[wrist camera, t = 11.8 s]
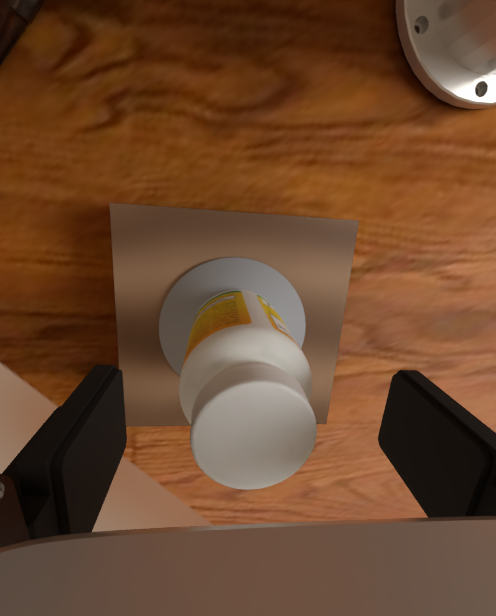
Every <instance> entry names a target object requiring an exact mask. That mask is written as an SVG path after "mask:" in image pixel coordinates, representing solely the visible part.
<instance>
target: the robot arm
mask: <svg viewBox="0 0 496 616" xmlns="http://www.w3.org/2000/svg"><path fill="white" fill-rule="evenodd" d="M396 18H397V26H398V33H399V37H400V41H401V44H402V47H403V51H404V54H405V57H406V59H407V61H408V62H409V64H410V66H411V68H412V70H413V72H414V74H415V75H416V77H417V78H418V79H419V80H420V82H421V83H422V84H423V85H424V87H425V88H426V89H427V90H429V91H430V92H431V93H432V94H434V95H435V96H436V97H437V98H439V99H440V100H442V101H445V102H447V103H449V104H451V105H453V106H456V107H462V108H467V109H484V108H490V107H494V106H496V0H396ZM126 441H127V435H126V419H125V404H124V388H123V373H122V370H118V369H117V368H116V366H115V365H95V366H94V367H93V369H92V370H91V371H90V372H89V373H88V375H87V376H86V377H85V378H84V380H83V381H82V382H81V383H80V384H79V386H78V387H77V388H76V389H75V390H74V392H73V393H72V394H71V395H70V397H69V398H68V399H67V400H66V401H65V403H64V404H63V405H62V406H60V407H58V408H57V409H56V410H55V411H54V412H53V413H52V414H51V416H50V417H49V418H48V419H47V421H46V422H45V423H44V424H43V425H42V427H41V428H40V429H39V430H38V431H37V432H36V434H35V435H34V436H33V437H32V438H31V440H30V441H29V442H28V443H27V444H26V446H25V447H24V448H23V449H22V450H21V451H20V453H19V454H18V455H17V456H16V457H15V459H14V460H13V461H12V462H11V463H10V465H9V466H8V467H7V468H6V469H5V470H4V472H3V473H2V474H0V616H496V433H495V432H494V431H492V430H491V429H490V428H489V427H487V426H486V425H485V424H484V423H482V422H481V421H480V420H479V419H477V418H476V417H475V416H474V415H472V414H471V413H470V412H469V411H467V410H466V409H465V408H464V407H462V406H461V405H460V404H459V403H457V402H456V401H455V400H454V399H452V398H451V397H450V396H449V395H447V394H446V393H445V392H444V391H442V390H441V389H440V388H439V387H437V386H436V385H435V384H434V383H432V382H431V381H430V380H429V379H427V378H426V377H425V376H424V375H422V374H421V373H420V372H418V371H416V370H400V371H398V372H397V374H395V375H394V376H393V377H392V381H391V385H390V389H389V393H388V398H387V402H386V406H385V410H384V414H383V419H382V423H381V427H380V431H379V435H378V441H379V445H380V447H381V449H382V450H383V452H384V453H385V455H386V456H387V458H388V459H389V460H390V462H391V463H392V465H393V466H394V468H395V469H396V471H397V472H398V474H399V475H400V477H401V478H402V480H403V481H404V482H405V484H406V485H407V487H408V488H409V490H410V491H411V493H412V494H413V496H414V497H415V499H416V500H417V501H418V503H419V504H420V506H421V507H422V509H423V510H424V512H425V513H426V515H427V516H428V518H398V519H368V520H340V521H313V522H286V523H261V524H237V525H214V526H191V527H168V528H150V529H134V530H133V529H132V530H115V531H101V532H92V530H93V527H94V524H95V522H96V520H97V517H98V515H99V512H100V510H101V507H102V504H103V502H104V500H105V497H106V495H107V492H108V490H109V487H110V485H111V482H112V480H113V478H114V475H115V472H116V470H117V468H118V465H119V463H120V460H121V458H122V455H123V453H124V450H125V447H126Z"/></svg>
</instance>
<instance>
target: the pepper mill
mask: <svg viewBox="0 0 496 616" xmlns="http://www.w3.org/2000/svg"><path fill="white" fill-rule="evenodd" d="M43 2H44V0H0V65H1V63H2V62H3V60H4V59H5V57H6V56H7V54H8V53H9V52H10V50H11V49H12V47H13V46H14V44H15V43H16V42H17V40H18V39H19V38H20V36H21V35H22V33H23V32H24V31H25V29H26V28H27V26H28V25H29V24H31V22H32V21H33V19H34V17H35V16H36V14H37V13H38V11H39V10H40V7H41V5H42V4H43Z"/></svg>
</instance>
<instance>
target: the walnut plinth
mask: <svg viewBox="0 0 496 616" xmlns="http://www.w3.org/2000/svg"><path fill="white" fill-rule="evenodd" d="M109 204H110V221H111V238H112V256H113V273H114V290H115V307H116V324H117V342H118V359H119V370H122V373H123V388H124V404H125V419H126V427H130V426H191V424H190V423H189V421H188V420H187V418H186V416H185V414H184V412H183V409H182V406H181V403H180V397H179V382H180V375H181V371H182V366H183V363H184V359H185V355H186V350H187V346H188V341H189V336H190V332H191V328H192V324H193V321H194V318H195V316H196V314H197V312H198V310H199V309H200V308H201V306H202V305H203V304H204V303H205V302H206V301H208V300H209V299H210V298H212V297H213V296H215V295H217V294H219V293H222V292H224V291H228V290H234V289H240V290H248V291H252V292H254V293H257V294H259V295H261V296H262V297H264V298H265V299H266V300H267V301H268V302H270V303H271V305H272V306H273V307H274V309H275V310H276V311H277V313H278V314H279V316H280V317H281V319H282V320H283V322H284V324H285V325H286V327H287V328H288V330H289V331H290V333H291V335H292V336H293V338H294V339H295V341H296V342H297V344H298V345H299V347H300V349H301V350H302V352H303V353H304V355H305V357H306V359H307V361H308V364H309V367H310V370H311V375H312V394H311V399H310V402H309V403H310V406H311V408H312V410H313V412H314V415H315V419H316V424H326V422H327V416H328V410H329V404H330V398H331V391H332V385H333V379H334V373H335V366H336V360H337V354H338V348H339V342H340V335H341V329H342V323H343V317H344V311H345V304H346V298H347V292H348V286H349V280H350V273H351V267H352V261H353V255H354V248H355V242H356V236H357V230H358V224H359V221H355V220H342V219H328V218H314V217H300V216H286V215H272V214H258V213H245V212H231V211H217V210H203V209H189V208H175V207H161V206H148V205H134V204H120V203H109Z"/></svg>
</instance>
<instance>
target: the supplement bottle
mask: <svg viewBox="0 0 496 616" xmlns="http://www.w3.org/2000/svg"><path fill="white" fill-rule="evenodd" d="M311 394H312V375H311V370H310V367H309V364H308V361H307V359H306V357H305V355H304V353H303V352H302V350H301V349H300V347H299V345H298V344H297V342H296V341H295V339H294V338H293V336H292V335H291V333H290V331H289V330H288V328H287V327H286V325H285V324H284V322H283V320H282V319H281V317H280V316H279V314H278V313H277V311H276V310H275V309H274V307H273V306H272V305H271V303H270V302H268V301H267V300H266V299H265V298H264V297H262V296H261V295H259V294H257V293H254V292H252V291H248V290H240V289H234V290H228V291H224V292H222V293H219V294H217V295H215V296H213V297H212V298H210V299H209V300H208V301H206V302H205V303H204V304H203V305H202V306H201V308H200V309H199V310H198V312H197V314H196V316H195V318H194V321H193V324H192V328H191V332H190V336H189V341H188V346H187V350H186V355H185V359H184V363H183V366H182V371H181V375H180V382H179V397H180V403H181V406H182V409H183V412H184V414H185V416H186V418H187V420H188V421H189V423H190V424H191V431H190V444H191V449H192V453H193V456H194V459H195V461H196V463H197V464H198V466H199V467H200V468H201V470H202V471H203V472H204V473H205V474H206V475H207V476H209V477H210V478H211V479H213V480H214V481H216V482H218V483H220V484H222V485H225V486H228V487H231V488H236V489H260V488H265V487H268V486H271V485H274V484H276V483H279V482H281V481H283V480H285V479H287V478H289V477H290V476H291V475H293V474H294V473H295V472H296V471H298V470H299V469H300V468H301V466H302V465H303V464H304V463H305V462H306V460H307V459H308V457H309V456H310V454H311V452H312V450H313V448H314V445H315V441H316V435H317V424H316V419H315V415H314V412H313V410H312V408H311V406H310V403H309V402H310V399H311Z"/></svg>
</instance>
